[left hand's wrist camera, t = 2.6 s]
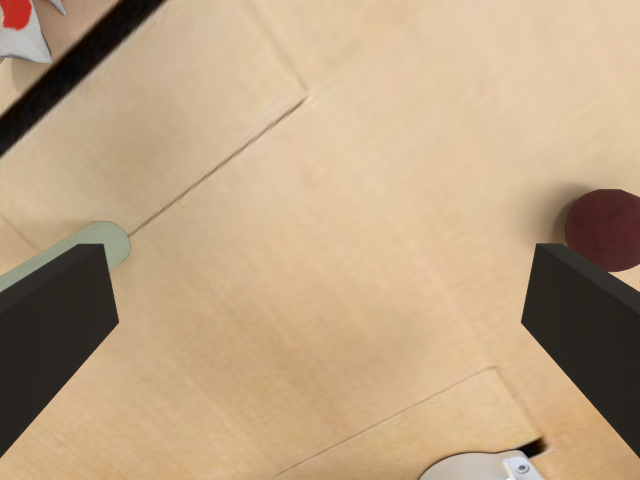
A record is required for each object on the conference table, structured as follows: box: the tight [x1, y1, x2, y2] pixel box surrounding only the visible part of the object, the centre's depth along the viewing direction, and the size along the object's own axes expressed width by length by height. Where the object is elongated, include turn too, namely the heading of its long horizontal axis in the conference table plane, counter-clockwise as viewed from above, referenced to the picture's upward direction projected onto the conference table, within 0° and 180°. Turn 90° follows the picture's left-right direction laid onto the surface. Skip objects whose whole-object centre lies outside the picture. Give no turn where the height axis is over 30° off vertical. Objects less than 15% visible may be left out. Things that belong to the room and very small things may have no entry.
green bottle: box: [0, 221, 130, 292], centre depth 33 cm, size 5×5×18 cm
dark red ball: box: [565, 189, 640, 272], centre depth 37 cm, size 7×8×7 cm
